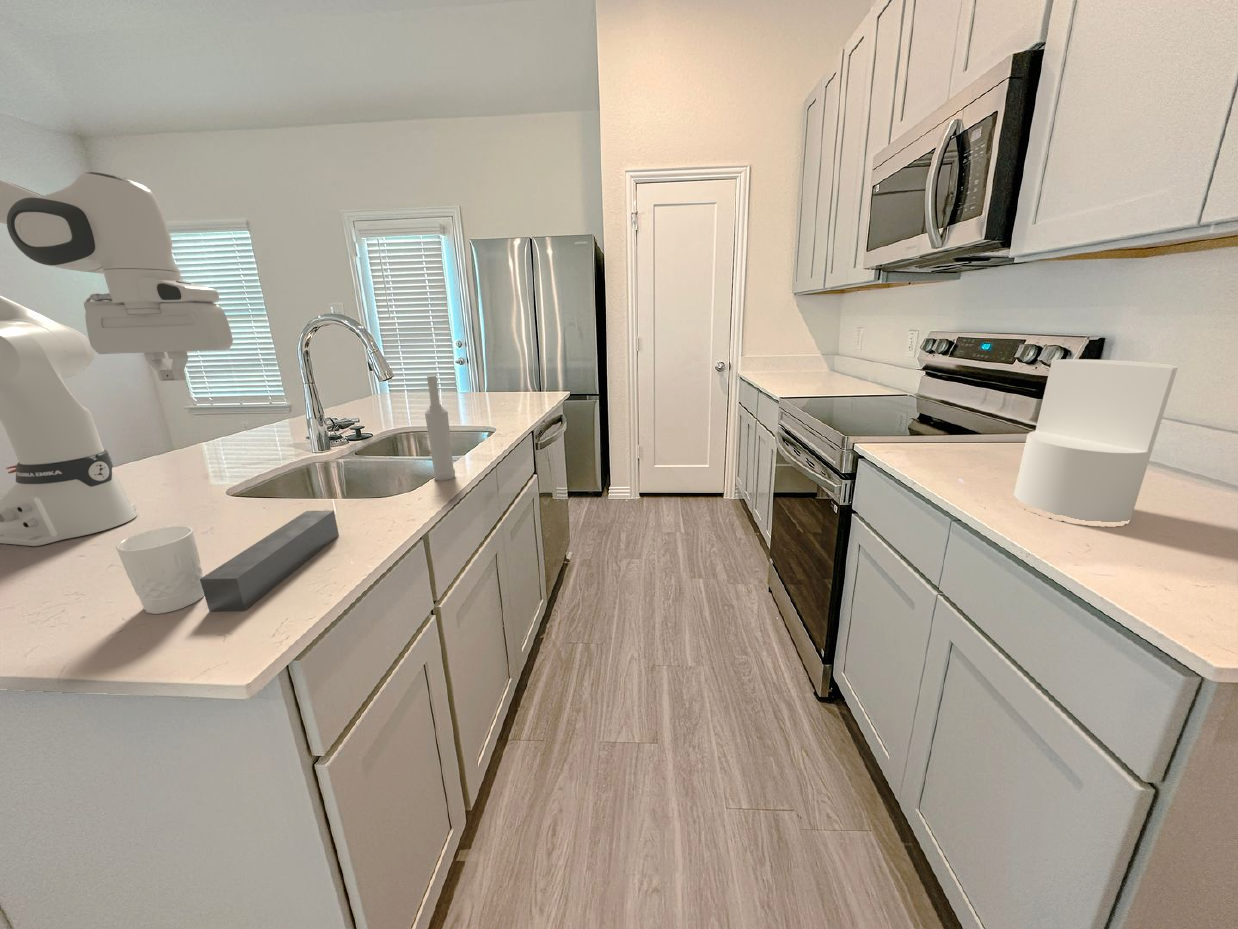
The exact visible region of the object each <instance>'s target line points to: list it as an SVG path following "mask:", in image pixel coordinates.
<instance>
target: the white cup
mask: <svg viewBox="0 0 1238 929" xmlns="http://www.w3.org/2000/svg"><path fill="white" fill-rule="evenodd" d="M194 534H195V533H194V529H193V528H192V526H191V527H190V526H187V525H175V526H174V525H173V526H166V527H165V526H164V527H158V528H154V529H151V530H147V531H144V532H140V533H137V534H133V535H131V536H130V537H127V538H125V539H123V540H121V541H119V542H118V543H117V545H116V547H115V549H116V552H117V553H118V556H119V558H120V561H121V563H122V565H123V568H124V571H125V572H126V575H127V577H128V579H129V581H130V583H131V586H132V588H133V590H134V593H135V594H136V596H137V597H138V598H139V601H140V604H141V607H142V608H143V610H144V611H145V612H146V613H147V614H155V615H159V614H167V613H172V612H175V611H177V610H181V609H182V610H183V609H184V608H186V607H188V606H189V607H190V606H191V605H193V604H195V603H197V602H198V601H200V600H201V599H202V598H203V597H205V595H204V592H203V589H202V585H201V582H200V579H201V578H202V577H203V570H202V566H201V560H200V555H199V550H198V546H197V542H196V538H195V535H194Z"/></svg>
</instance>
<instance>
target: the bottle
mask: <svg viewBox="0 0 1238 929" xmlns="http://www.w3.org/2000/svg"><path fill="white" fill-rule="evenodd" d="M426 379H427V385H428V393H429V401H430V404H429V408H428V409H427V410H426V411H425V412H424V415H425V422H426V428H427V435H428V440H429V441H428V442H429V448H430V454H431V459H432V460H431V461H432V465H433V466H432V468H433V471H432V474H433V478H434V480H435V481H443V482H444V481H449V480H452V479H454V478H455V476H456V470H455V468H454V463H453V462H454V460H453V453H452V452H453V451H452V444H451V443H452V442H451V434H450V432H451V430H450V423H449V422H450V421H449V412H448V410H447V409H446V408H445V407H443V406H442V404H441V403H440V398H439V397H440V396H439V391H438V390H439V389H438V380H437V375H427V376H426Z"/></svg>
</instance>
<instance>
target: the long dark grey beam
mask: <svg viewBox="0 0 1238 929" xmlns="http://www.w3.org/2000/svg"><path fill="white" fill-rule="evenodd" d="M336 518H337V517H336V514H335V510H306V511H304V512H302V513H301V514H299V515H298V516H296V517H294V518H293V519H292V520H290V521H289V522H287V523H285V524H283V525H282V526H281V527H279V528H277V529H276V530H274V531H273V532H272V533H270V534H268V535H267V536H265V537H263V538H262V539H260V540H259V541H257V542H255V543H254V544H252V545H251V546H250V547H248V548H246V549H245V550H243V551H242V552H240V553H238V554H237V555H235V556H234V557H232V558H231V559H229V560H228V561H226V562H224V563H222V564H221V565H219V566H218V567H217V568H215V569H213V570H212V571H210V572H208V573H207V574H206V575H204V576H202V578H201V579H200V582H201V585H202V589H203V592H204V598H205V601H206V605H207V608H208V611H209V612H238V611H239V612H244V611H245V612H246V611H247V610H248V609H250V608H251V607H252V606H253V605H254V604H256V603H257V602H258V601H259V600H261V599H262V598H263V597H264V596H266V595H267V594H268V593H269V592H272V590H273V589H274V588H276V587H277V586H279V585H280V584H281V583H282V582H283V581H285V579H287V578H288V577H289V576H291V575H292V574H293V573H295V572H296V571H297V570H298V569H299V568H301V566H303V565H304V564H306V563H307V562H308V561H310V560H311V559H312V558H313V557H315V556H316V555H317V554H318V553H319V552H321V551H322V550H323V549H324V548H325V547H327V546H329V544H331V543H332V542H333V541H334V540H335V539H336V538H338V537H339V536H340V534H339V529H338V525H337V520H336Z"/></svg>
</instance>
